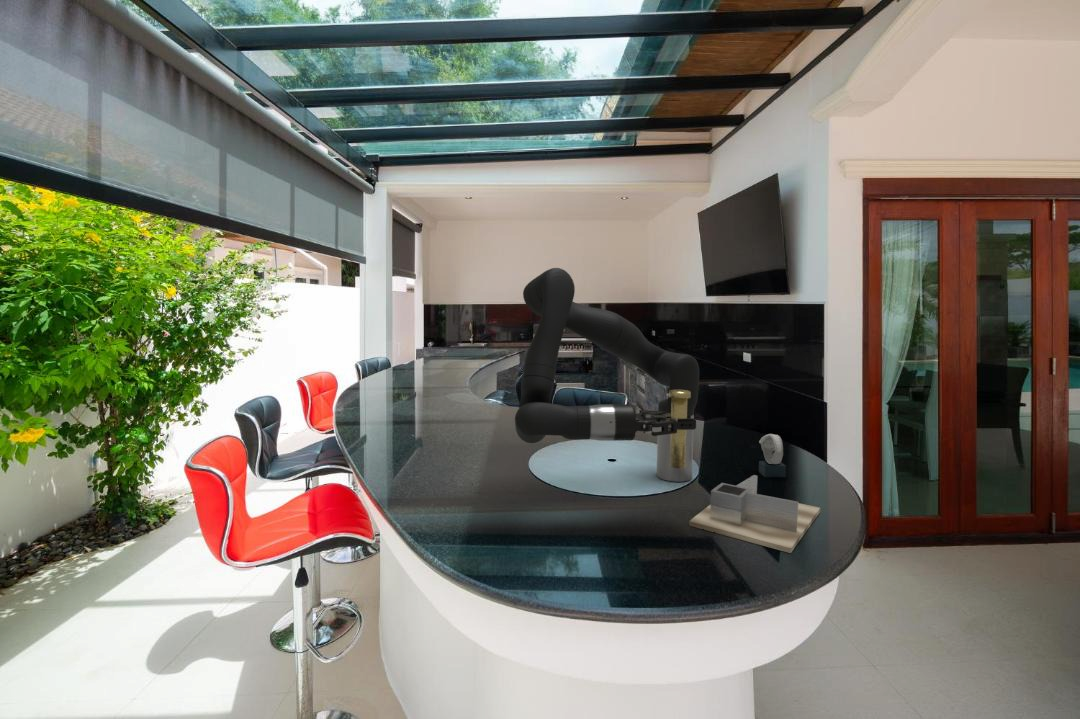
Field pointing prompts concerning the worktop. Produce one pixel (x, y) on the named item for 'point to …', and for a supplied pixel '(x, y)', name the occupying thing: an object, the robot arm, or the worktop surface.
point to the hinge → (752, 506)
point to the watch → (772, 457)
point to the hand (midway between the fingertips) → (692, 421)
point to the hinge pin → (680, 437)
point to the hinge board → (760, 529)
